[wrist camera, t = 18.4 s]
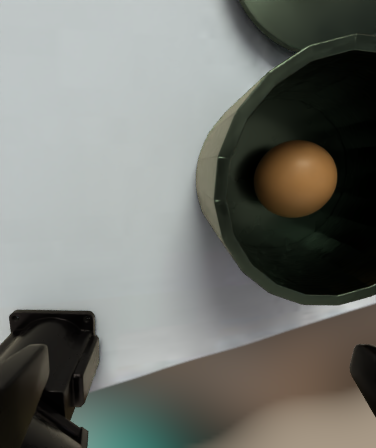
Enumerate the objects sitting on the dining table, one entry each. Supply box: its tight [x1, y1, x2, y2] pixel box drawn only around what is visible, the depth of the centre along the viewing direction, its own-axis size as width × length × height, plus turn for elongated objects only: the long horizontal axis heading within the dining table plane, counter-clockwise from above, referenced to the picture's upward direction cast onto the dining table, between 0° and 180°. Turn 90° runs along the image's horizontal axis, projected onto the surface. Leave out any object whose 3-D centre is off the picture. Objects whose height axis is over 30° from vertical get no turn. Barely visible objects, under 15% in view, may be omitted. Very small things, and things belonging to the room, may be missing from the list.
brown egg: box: [254, 140, 337, 218], centre depth 16 cm, size 5×5×5 cm
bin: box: [196, 33, 376, 305], centre depth 15 cm, size 12×12×8 cm
